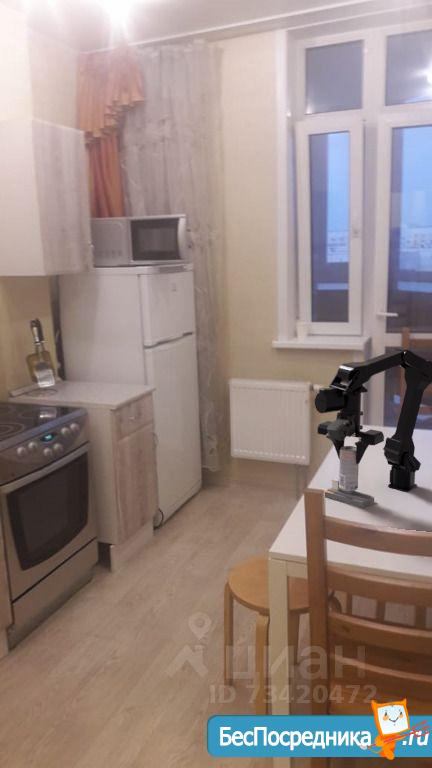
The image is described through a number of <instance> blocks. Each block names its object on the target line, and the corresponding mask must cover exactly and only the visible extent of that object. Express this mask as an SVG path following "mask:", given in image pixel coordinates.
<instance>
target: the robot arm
mask: <svg viewBox="0 0 432 768" xmlns="http://www.w3.org/2000/svg"><path fill="white" fill-rule="evenodd" d="M396 367H400V368H402V369H403V370H404V374H403V377H404V382H405V385H406V389H405V392H404V396H403V401H402V405H401V409H400V413H399V416H398V417H399V418H398V421H397V423H396V424H397V425H396V429H395V432H394V433H393V435H392V436H391V437H389V436H388V437H386V438H385V434H384V433H383V431H381V430H377V429H376V430H375V429H369V430H368V429H367V430H366V431H361V430H363V427H364V426H363V425H361V417H362V416H364V411H361V410H362V407H361V406H362V405H361V404H362V394H364V393H367V392H368V391H369V390H368V389H367V388H366V387H365V386H364V384H366V383H367V382H369V381H370V379H372V377H373V376H375V375H378V374H380V373H383V372H385V371H388V370H390V369H393V368H396ZM431 384H432V360H428V359H425V358H423V357H421V356H419V355H418V354H415V353H414V352H413V351H411V350H410V349H407V348H402V347H396V348H394V349H393V350H391V351H388V352H386V353H383V354H380V355H378V356H375V357H373V358H369V359H367V360H363V361H352V362H345V363H342V364H340V365H339V367H338V369H337V372H336V374H335V375H334V377H333V379H332V380H331V382H330V384H329V385H328V387H326V388H325V387H321V388H319V389H318V390H319V391H318V393H317V394H316V395H315V398H314V407H315V409H316V411H317V412H318V413H319V414H327V413H332V412H333V413H334V412H337V413H336V417H335V418H336V419H335V420H334V421H331V420H327V421H324V422H321V423H319V424H318V426H317V427H316V429H317V430H316V431H317V432H316V433H317V434H318V435H323V436H325V437H326V439H328V440H329V441H331V443H333V446H334V449H335V451H336V455H337V457H338V460H339V461H340V449H341V447H343V446H345V440H346V438H347V437H348V438H351V437H353V438H356V439H357V438H358V441H356V442H354V445H355V447H357V448H356V464H360V463H361V461H362V460H363V459H362V458H363V456H364V455H365V453H366V450H367V449H368V447H369V446H376V445H378V444H381V443H384V442H385V444H384V447H383V448H382V450H383V451H384V452H383V456H384V457H385V459H386V461H387V465H390V466H391V467H390V468H391V469H390V470H389V484H387V487H389V488H392V489H396V490H400V491H403V492H409V491H411V490H413V489H414V488H416V487H418V484H417V483H415V482H416V481H415V480H416V472H417V471H419V470H420V468H421V465H422V463H421V462H420V461H419V459H417V458H416V457H415V449H416V446H415V444H414V439H413V435H414V431H415V428H416V423H417V420H418V419H417V418H418V416H419V411H420V408H421V403H422V400H423V395H424V391H425V390H426V389H427V388H428V387H429V386H430V385H431Z"/></svg>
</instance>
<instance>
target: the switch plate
mask: <svg viewBox="0 0 432 768" xmlns="http://www.w3.org/2000/svg"><path fill="white" fill-rule="evenodd" d="M324 491H325V497H324V498H328V499H332V500H334V501H339V502H341V503H345V504H347V505H352V506H355V507H359V508H362V509H364V508H366V507H368V506H369V505H371V504H373V503H375V496H373V495H371V494H367V493H363V492H360V491H357V490H355V491H344V490H342V491H340V492H338V491H335V490H332V487H330V488H327V490H324Z"/></svg>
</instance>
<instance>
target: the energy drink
mask: <svg viewBox="0 0 432 768" xmlns="http://www.w3.org/2000/svg"><path fill="white" fill-rule="evenodd" d="M356 448H357V447H356V446H354V445H353V446H352V445H344V446H343V447H341V449H340V460H339V464H338V465H339V467H338V469H339V471H338V472H339V473H338V474H339V475H338V476H339V477H338V478H339V488H340V489H341V490H344V491H357V490H358V488H359V468H360V467H359V464H360V463H359V464H356Z"/></svg>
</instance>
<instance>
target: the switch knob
mask: <svg viewBox="0 0 432 768" xmlns="http://www.w3.org/2000/svg"><path fill="white" fill-rule="evenodd" d="M331 488H332V490H335V491H338V492H340V491H342V490H341V489H340V488H339V477H335V478H333V479H331Z"/></svg>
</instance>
